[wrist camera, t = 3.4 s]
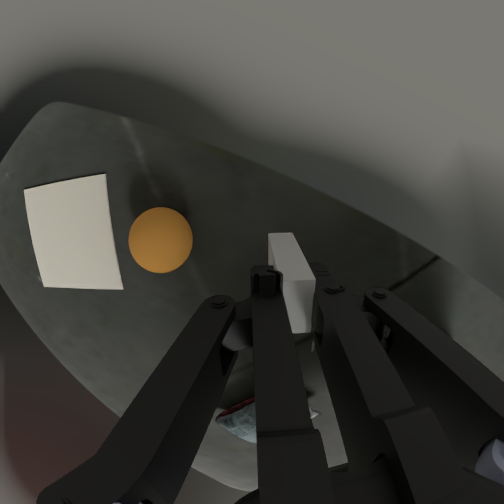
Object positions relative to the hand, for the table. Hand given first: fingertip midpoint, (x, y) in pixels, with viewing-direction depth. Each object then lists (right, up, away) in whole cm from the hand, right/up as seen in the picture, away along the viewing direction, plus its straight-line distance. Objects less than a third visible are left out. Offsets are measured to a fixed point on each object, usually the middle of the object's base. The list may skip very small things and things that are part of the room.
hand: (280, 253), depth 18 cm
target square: (-21, +2, +7) cm, 23 cm away
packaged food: (0, -21, +16) cm, 27 cm away
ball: (-9, +1, +5) cm, 11 cm away
